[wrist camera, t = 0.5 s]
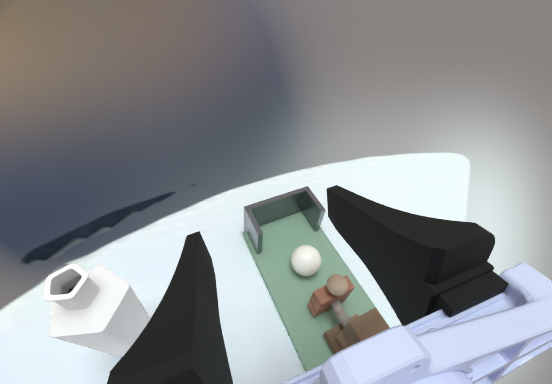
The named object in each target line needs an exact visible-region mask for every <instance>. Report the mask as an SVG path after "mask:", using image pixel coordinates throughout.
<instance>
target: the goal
mask: <svg viewBox="0 0 552 384" xmlns="http://www.w3.org/2000/svg"><path fill="white" fill-rule="evenodd" d="M299 212H302V214H303V215H304V217H305V218H306V220H307V221H308V223H309V224H310V226H311V227H312V229H313V230H314V232H316V231H318V230H319V227H320V224H321V221H322V219H323V216H324V213H325V209H324V207H323V206H322V205H321V203H320V202H319V201H318V199H317V198H316V197H315V195H314V194H313V193H312V191H311V190H310V189H309V187H308V186H307V187H304V188H301V189H298V190H294V191H291V192H288V193H285V194H282V195H279V196H276V197H273V198H270V199H267V200H263V201H260V202H257V203H254V204H251V205H248V206H245V207H244V228H245V232H247V234H248V236H249V238H250V240H251V243H252V245H253V247H254V249H255V251H256V253H257V254H260V253H262V240H263V232H262V230H261V228H260V226H262V225H265V224H268V223H271V222H274V221H276V220H279V219H282V218H285V217H288V216H290V215H293V214H296V213H299Z"/></svg>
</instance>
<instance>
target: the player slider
mask: <svg viewBox="0 0 552 384" xmlns="http://www.w3.org/2000/svg"><path fill="white" fill-rule="evenodd" d="M354 288H355V286H354V285H353V284H352V282H351V281H350V279H349V278H348V276H347V275H346V276H344V277H343V276H342V275H339V274H334V275H331V276H330V277H329V278H328V280H327V283H326V285H325V286H323V287H321V288H319V289H317V290H315V291H313V294H312V296H311V298H310V300H309V302H308V304H307V306H308V308H309V310H310V311H311V313H312V315H313V317H316V316H318V315H320V314H321V313H323V312H325V311H327V310H329V309H331V308H332V309H333V311H334V312H335V314H336V316H337V317H338V319H339V321H340V322H341V323H340V324H338V325H336V326H334V327H333V328H331V329H329V330H327V331H325V333H324V334H323V336H324V338H325V339H326V341H327V343H328V345H329V347H330V349H331V351H332V352H333V354H334V355H335V354H336V353H338V352H340V351H341V350H344V349H346V348H348V347H350V346H352V345H354V344H357V343H359V342H361V341H363V340H365V339H367V338H369V337H372V336H374V335H376V334H378V333H380V332H382V331H385V330H387V329H389V326H388V325H387V323H386V322H385V320H384V319H383V317H382V316H381V315H380V313H379V312H378V310H377V309H376V307H375V308H373V309H371V310H369V311H368V312H366V313H364V314H362V315H360V316H359V315H358V314H356V315H354V316H352V317H351V318H349V316H348V314H347V313H346V311H345V309H344V308H343V306H342V305H341V303H342V302H344V301H345V300H346V299H347V297H348V296H349V295H350V293H351V292H352V291H353V289H354Z"/></svg>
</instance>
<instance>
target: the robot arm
mask: <svg viewBox="0 0 552 384" xmlns="http://www.w3.org/2000/svg"><path fill="white" fill-rule="evenodd" d="M327 202H328V217H329V218H330V220H331V222H332V223H333V225H334V227H335V228H336V230H337V231H338V232H339V234H340V235H341V236H342V237H343V238H344V240H345V241H346V242H347V243H348V244H349V246H350V247H351V248H352V249H353V250H354V252H355V253H356V254H357V255H358V256H359V258H360V259H361V260H362V261H363V263H364V264H365V265H366V267H367V268H368V270H369V271H370V273H371V274H372V276H373V277H374V279H375V280H376V282H377V284H378V285H379V287H380V288H381V290H382V291H383V293H384V295H385V296H386V298H387V300H388V301H389V303H390V305H391V306H392V308H393V310H394V311H395V313H396V315H397V317H398V319H399V320H400V322H401V324H402V325H398V326H395V327H392V328H389V329H387V330H385V331H382V332H380V333H378V334H376V335H374V336H372V337H369V338H367V339H365V340H363V341H361V342H359V343H357V344H354V345H352V346H350V347H348V348H346V349H344V350H341V351H340V352H338V353H336V354H335V355H333V356H331V357H330V358H329V359H328V360H327V361H326V362H325V363H324V364H322V365H320V366H318V367H316V368H314V369H312V370H309V371H307V372H305V373H303V374H301V375H299V376H297V377H294V378H292V379H290V380H288V381H286V382H284V383H282V384H493V383H494V382H495V381H497V380H499V379H500V378H502V377H504V376H505V375H507V374H508V373H510V372H511V371H513V370H515V369H516V368H518V367H520V366H521V365H523V364H524V363H526V362H528V361H529V360H531V359H532V358H534V357H536V356H538V355H539V354H541V353H542V352H544V351H546V350H548V349H550V348H551V347H552V281H551V280H550V279H548V278H546V277H545V276H543V275H542V274H541V273H539V272H538V271H536V270H535V269H533V268H531V267H530V266H529V265H527V264H526V263H520V264H518V265H516V266H513V267H511V268H509V269H507V270H505V271H503V272H502V273H501V274H500V275H499V276H498V275H497V274H496V273H494V272H493V271H492V270H493V269H494V267H493V266H492V265H491V264H490V263H488V262H487V260H488V258H489V256H490V254H491V252H492V250H493V247H494V244H495V237H494V235H493V234H492V233H490V232H488V231H487V230H485V229H484V228H482V227H481V226H479V225H478V224H476V223H472V222H460V221H450V220H443V219H436V218H430V217H425V216H420V215H415V214H411V213H407V212H403V211H400V210H397V209H393V208H390V207H387V206H384V205H382V204H379V203H376V202H374V201H371V200H369V199H366V198H364V197H362V196H360V195H357V194H355V193H353V192H351V191H349V190H346V189H344V188H342V187H340V186H337V185H336V186H333V187H330V188H327ZM107 384H233V381H232V376H231V372H230V368H229V363H228V358H227V354H226V349H225V344H224V339H223V335H222V330H221V325H220V318H219V309H218V299H217V288H216V279H215V272H214V268H213V263H212V259H211V256H210V254H209V252H208V250H207V247H206V245H205V243H204V241H203V238H202V236H201V234H200V232H196V233H193V234H190V235H187V237H186V240H185V244H184V247H183V251H182V254H181V257H180V260H179V262H178V265H177V268H176V270H175V273H174V275H173V278H172V280H171V282H170V285H169V287H168V289H167V291H166V293H165V295H164V297H163V299H162V300H161V302H160V304H159V306H158V307H157V309H156V311H155V313H154V314H153V316H152V317H151V319H150V321H149V322H148V324H147V325H146V327H145V328H144V329H143V331H142V332H141V334H140V335H139V337H138V338H137V339H136V341H135V342H134V343H133V345H132V346H131V347H130V348H129V350H128V351H127V352H126V353H125V355H124V356H123V357H122V358H121V359H120V361H119V362H118V363H117V364H116V365H115V367H114V368H113V369H112V370H111V371H110V375H109V378H108V382H107Z"/></svg>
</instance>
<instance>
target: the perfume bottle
mask: <svg viewBox="0 0 552 384" xmlns="http://www.w3.org/2000/svg"><path fill="white" fill-rule="evenodd" d="M44 300H45V301H52V303H51V314H50V326H49V336H50V337H53V338H57V339H60V340H64V341H67V342H71V343H74V344H78V345H81V346H85V347H88V348H92V349H95V350H99V351H102V352H106V353H109V354H113V355H116V356H120V357H123V356H124V355H125V353H126V352H127V351H128V350H129V348H130V347H131V346H132V345H133V343H134V342H135V341H136V339H137V338H138V337H139V335H140V334H141V332H142V331H143V329H144V328H145V327H146V325H147V324H148V322H149V321H150V319H151V318H150V317H149V315H148V314H147V312H146V310H145V309H144V307H143V306H142V304H141V302H140V301H139V299H138V298H137V296H136V294H135V293H134V291H133V290H132V288H131V286H130V285H129V283H128V282H126V281H125V280H123V279H122V278H120V277H119V276H118V275H116V274H115V273H113V272H112V271H110V270H109V269H108V268H106V267H105V266H103V265H98V266H96V267H94V268H92V269H90V270H89V271H87V272H86V271H85V270H84V269H82V268H81V267H80V266H78V265H77V264H70V265H68V266H66V267H64V268H62V269H61V270H59V271H57V272H55V273H53V274H51V275H50V276H48V277H47V279H46V281H45V290H44Z"/></svg>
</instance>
